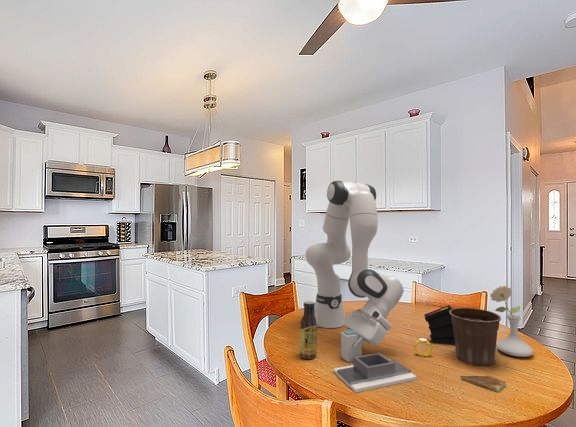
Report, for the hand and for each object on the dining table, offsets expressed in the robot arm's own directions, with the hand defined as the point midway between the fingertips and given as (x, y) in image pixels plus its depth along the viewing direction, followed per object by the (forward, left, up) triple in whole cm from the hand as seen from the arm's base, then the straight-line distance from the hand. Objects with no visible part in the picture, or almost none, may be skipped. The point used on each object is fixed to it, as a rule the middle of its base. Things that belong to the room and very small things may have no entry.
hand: (349, 344), depth 119 cm
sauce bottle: (-7, -13, -5) cm, 16 cm away
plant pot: (+16, +42, -5) cm, 45 cm away
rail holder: (+14, +1, -5) cm, 15 cm away
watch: (+7, +27, -5) cm, 28 cm away
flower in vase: (+17, +59, -5) cm, 61 cm away
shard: (+31, +29, -6) cm, 43 cm away
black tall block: (0, +43, -5) cm, 43 cm away
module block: (0, +1, -5) cm, 5 cm away
